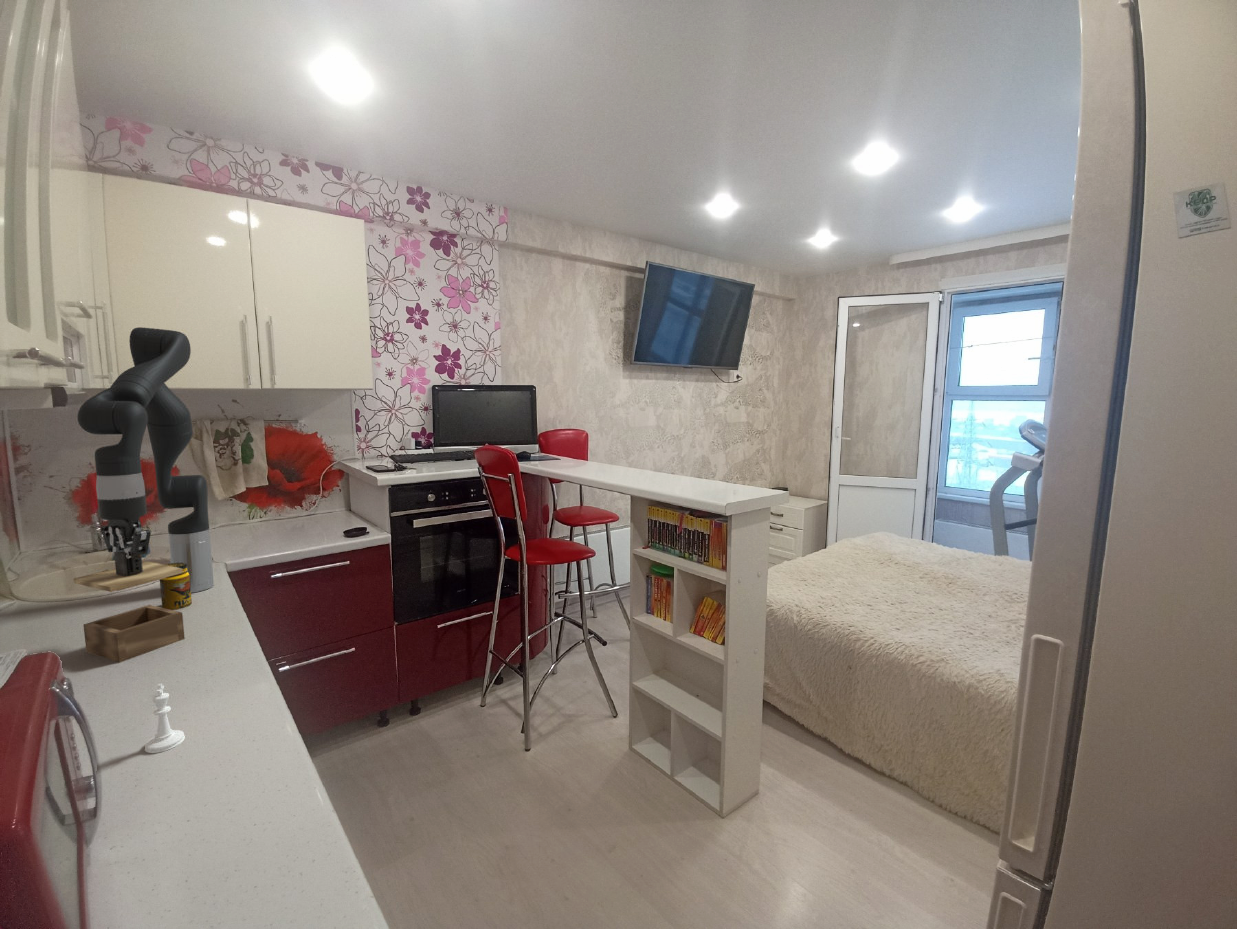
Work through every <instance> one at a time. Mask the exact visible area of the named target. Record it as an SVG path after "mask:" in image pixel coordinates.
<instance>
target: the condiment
mask: <svg viewBox="0 0 1237 929" xmlns="http://www.w3.org/2000/svg"><path fill="white" fill-rule="evenodd" d="M166 565H167V566H172V567H177V568H182V571H183V573H180V574H176V575H173V576H169V577H166V578H164V579H160V580H159V587H160V598H161V608H165V609H169V610H174V611H177V610H181V609H184V608H187V607H190V606H191V605H192V604H193V601H192V600H193V599H192V593H191V588H190V576H189V573H188V572H187V564H186V563H181V562H180V563H171V564H170V563H167V564H166Z"/></svg>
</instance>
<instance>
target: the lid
mask: <svg viewBox="0 0 1237 929" xmlns="http://www.w3.org/2000/svg"><path fill="white" fill-rule="evenodd" d="M130 550H131V548H130ZM113 557H114V566H115V568H113V569H110V570H104V571H101V572H96V573H92V574H87V575H83V576H79V577H74V578H73V583H74V584H77V585H81V586H84V587H89V588H93V589H97V590H101V591H106V592H109V593H112V592H118V591H122V590H126V589H129V588H134V587H139V586H140V585H144V584H148V583H153V582H156V581H160V579H164V578H166V577H169V576H173V575H176V574H180V573H183V571H182V568H177V567H172V566H167V564H162V563H158V562H151V561H148V560H147V561H143V558H142V556H140V557H141V568H142V572H141V573H139V574H135V575H129V574H128V571H127V561H126V559H127V558H126V555H125V550H121V551H117V552H114V555H113Z"/></svg>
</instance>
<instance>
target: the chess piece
mask: <svg viewBox="0 0 1237 929" xmlns="http://www.w3.org/2000/svg"><path fill="white" fill-rule="evenodd" d="M164 689H165V685H163V683H159V684H158V685H157V689H156V691H155V692H156V695H154V696H153V697H152V702H153V703H154V704H155V707H156V709H154V711H153V713H152V714H153V715H154V716H158V724H157V732H156V734H155V735H154V736H152V737H151V738H150V739H148V740H147V741H146V743H145V744H144V751H145V753H149V754H157V753H158V754H159V753H162V752H166V751H169V750H171V749H173V748H176V747H177V746H179V745H180V744H181V743H183V741H184V740H185V739H186V736H185V733H184V731H183V730H181V729H180V730H179V729H172V728H171V725H170V721H169V718H168V714H167V713H168V712H170V711H171V710H172V708H171V706H170V705H167V704H168V701H169V698H170V694H169V692H164Z"/></svg>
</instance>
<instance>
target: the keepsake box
mask: <svg viewBox="0 0 1237 929" xmlns="http://www.w3.org/2000/svg"><path fill="white" fill-rule="evenodd" d="M83 633H84V642H85V652H86V653H88V654H90V655H93V656H96V657H101V658H103V659H107V660H109V661H113V662H115V663H120V664H121V663H123V662H126V661H128V660H131V659H133V658H136V657H139V656H142V655H144V654H147V653H150V652H152V651H155V650H159V649H161V648H164V647H166V646H170V645H172V644H174V643H177V642H180V641H183V640H185V639H186V638H185V626H184V616H183V612H181V611H177V610H169V609H165V608H162V606H160V607H159V606H157V605H151V604H148V605H144V606H142V607H137V608H135V609H131V610H128V611H124V612H121V613H118V614H113V615H111V616H107V617H104V618H101V619H97V620H94V621H91V622H86V623H83Z"/></svg>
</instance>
